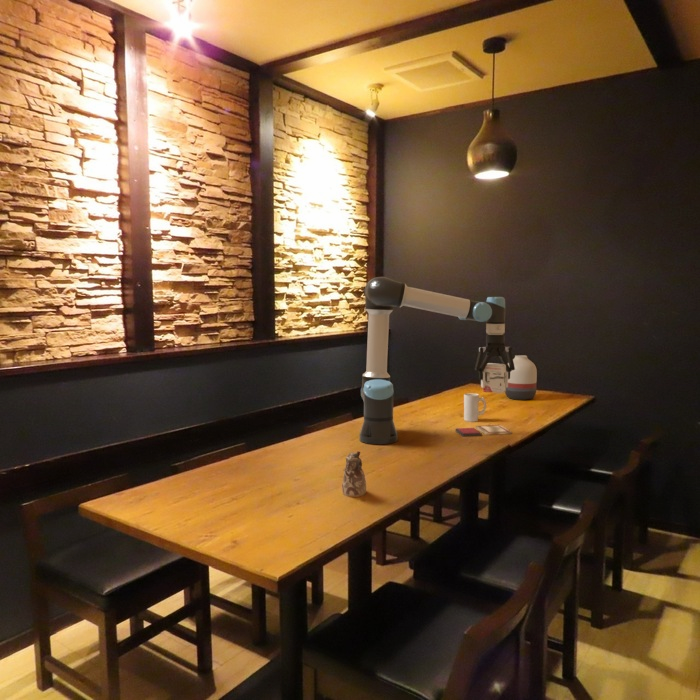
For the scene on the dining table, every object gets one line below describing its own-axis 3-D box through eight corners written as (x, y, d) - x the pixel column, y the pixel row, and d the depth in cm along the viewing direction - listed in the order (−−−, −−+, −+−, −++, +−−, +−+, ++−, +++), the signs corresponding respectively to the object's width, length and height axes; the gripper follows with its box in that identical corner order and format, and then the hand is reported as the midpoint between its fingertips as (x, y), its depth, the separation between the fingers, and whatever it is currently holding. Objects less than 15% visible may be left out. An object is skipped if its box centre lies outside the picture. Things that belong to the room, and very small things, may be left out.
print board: (486, 434, 246) (486, 432, 246) (475, 427, 258) (475, 425, 258) (511, 433, 247) (511, 431, 247) (500, 426, 260) (500, 424, 260)
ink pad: (462, 436, 243) (462, 433, 243) (455, 430, 253) (455, 428, 253) (481, 435, 244) (481, 432, 244) (473, 430, 254) (473, 427, 254)
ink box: (482, 392, 251) (483, 364, 250) (485, 390, 255) (486, 362, 254) (503, 393, 247) (503, 365, 246) (506, 391, 251) (506, 363, 250)
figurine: (336, 492, 175) (336, 452, 174) (354, 487, 180) (353, 448, 179) (354, 498, 170) (354, 457, 169) (371, 492, 175) (371, 452, 174)
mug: (463, 421, 271) (463, 395, 270) (463, 418, 278) (464, 392, 277) (485, 422, 269) (486, 396, 268) (486, 419, 275) (486, 393, 274)
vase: (539, 397, 333) (540, 355, 331) (531, 402, 319) (532, 358, 316) (509, 394, 342) (510, 353, 340) (500, 399, 328) (501, 356, 325)
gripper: (472, 334, 244) (471, 389, 246) (524, 334, 247) (523, 387, 249) (466, 333, 251) (466, 386, 253) (517, 333, 254) (515, 385, 256)
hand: (494, 387), depth 251 cm, fingers closed on ink box, 9 cm apart
